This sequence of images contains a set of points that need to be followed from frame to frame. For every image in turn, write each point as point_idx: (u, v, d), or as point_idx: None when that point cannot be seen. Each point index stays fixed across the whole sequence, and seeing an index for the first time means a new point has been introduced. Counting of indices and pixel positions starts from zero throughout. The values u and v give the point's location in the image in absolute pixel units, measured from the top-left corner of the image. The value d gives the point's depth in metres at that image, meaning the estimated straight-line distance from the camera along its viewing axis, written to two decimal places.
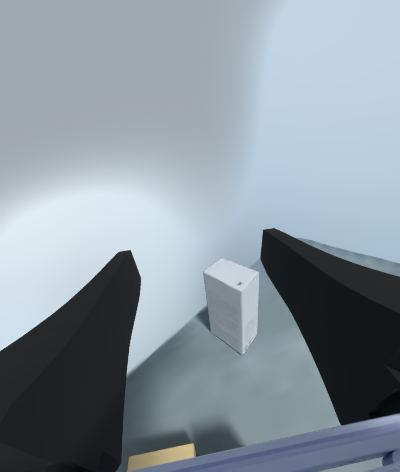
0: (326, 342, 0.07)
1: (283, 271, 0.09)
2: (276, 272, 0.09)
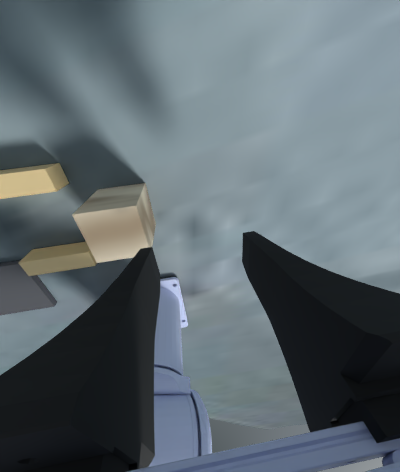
0: (295, 348, 0.06)
1: (260, 275, 0.09)
2: (254, 276, 0.09)
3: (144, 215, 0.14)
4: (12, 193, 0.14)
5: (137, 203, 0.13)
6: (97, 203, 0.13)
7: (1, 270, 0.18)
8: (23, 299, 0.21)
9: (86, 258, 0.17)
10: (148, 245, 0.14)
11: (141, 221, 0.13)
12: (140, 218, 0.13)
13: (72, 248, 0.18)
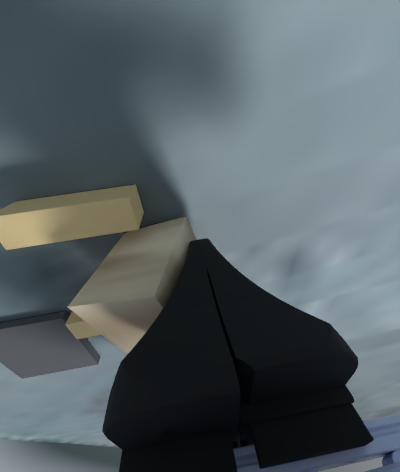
0: None
1: None
2: None
3: None
4: (72, 234, 0.09)
5: (160, 284, 0.07)
6: (108, 275, 0.08)
7: (35, 327, 0.13)
8: (60, 358, 0.15)
9: None
10: None
11: None
12: None
13: None
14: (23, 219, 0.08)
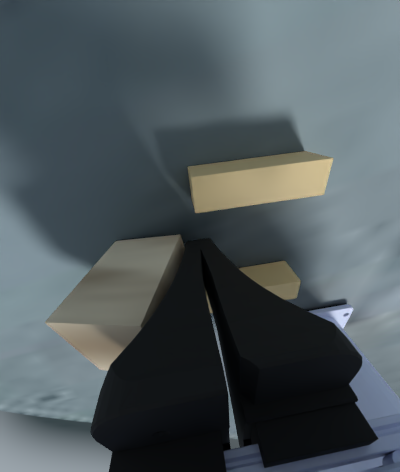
0: (226, 361, 0.06)
1: (208, 284, 0.09)
2: (206, 284, 0.09)
3: None
4: (262, 198, 0.08)
5: (147, 312, 0.06)
6: (92, 290, 0.08)
7: None
8: None
9: (292, 289, 0.12)
10: None
11: None
12: None
13: (265, 273, 0.13)
14: (227, 179, 0.08)
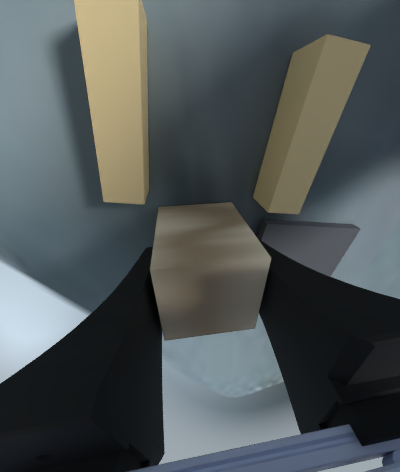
0: (286, 350, 0.06)
1: None
2: None
3: (190, 241, 0.07)
4: (133, 118, 0.06)
5: (153, 259, 0.06)
6: None
7: None
8: (319, 257, 0.13)
9: (338, 56, 0.06)
10: (248, 257, 0.06)
11: (189, 262, 0.06)
12: (181, 263, 0.06)
13: (288, 107, 0.08)
14: (106, 164, 0.07)
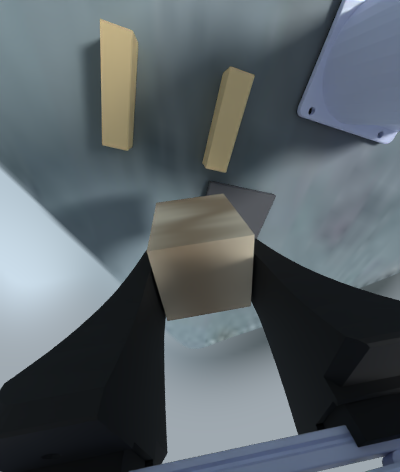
0: (284, 350, 0.06)
1: None
2: None
3: (183, 227, 0.08)
4: (125, 95, 0.11)
5: (150, 243, 0.07)
6: None
7: None
8: (249, 215, 0.19)
9: (238, 78, 0.12)
10: (233, 236, 0.07)
11: (181, 243, 0.07)
12: (174, 245, 0.07)
13: (218, 103, 0.13)
14: (106, 120, 0.12)
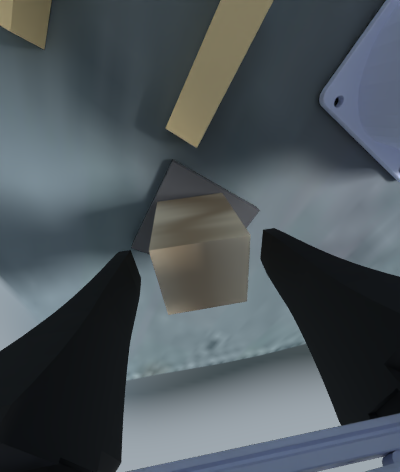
0: (326, 342, 0.07)
1: (283, 271, 0.09)
2: (276, 272, 0.09)
3: (183, 227, 0.09)
4: None
5: (151, 242, 0.08)
6: None
7: (164, 196, 0.11)
8: None
9: None
10: (230, 236, 0.08)
11: (181, 243, 0.08)
12: (174, 244, 0.07)
13: None
14: None
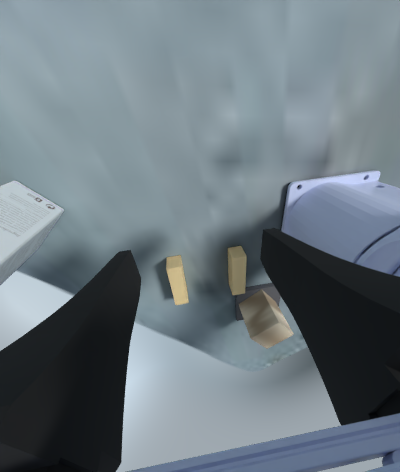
0: (326, 342, 0.07)
1: (283, 271, 0.09)
2: (276, 272, 0.09)
3: (255, 322, 0.24)
4: (182, 286, 0.22)
5: (249, 334, 0.23)
6: None
7: (240, 301, 0.27)
8: None
9: (237, 260, 0.21)
10: (272, 324, 0.22)
11: (258, 332, 0.23)
12: (257, 333, 0.23)
13: (230, 264, 0.23)
14: (176, 296, 0.23)
